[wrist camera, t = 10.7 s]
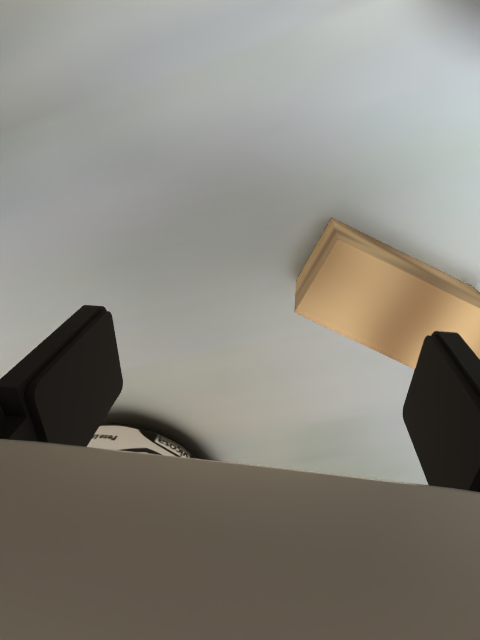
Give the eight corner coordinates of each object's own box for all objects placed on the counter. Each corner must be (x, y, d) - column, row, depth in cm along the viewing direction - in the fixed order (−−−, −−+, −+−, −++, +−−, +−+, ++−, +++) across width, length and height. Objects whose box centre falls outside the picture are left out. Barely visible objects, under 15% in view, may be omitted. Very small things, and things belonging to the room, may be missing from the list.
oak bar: (296, 279, 24) (294, 312, 20) (331, 217, 22) (337, 238, 18) (427, 341, 25) (453, 387, 20) (474, 287, 23) (514, 325, 18)
